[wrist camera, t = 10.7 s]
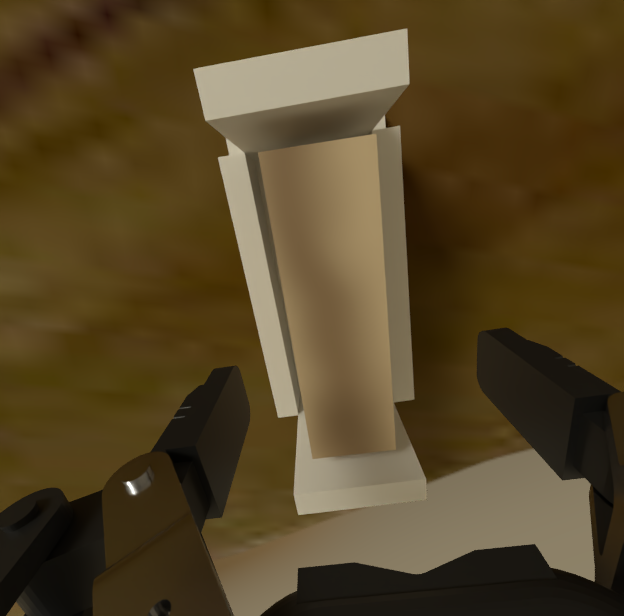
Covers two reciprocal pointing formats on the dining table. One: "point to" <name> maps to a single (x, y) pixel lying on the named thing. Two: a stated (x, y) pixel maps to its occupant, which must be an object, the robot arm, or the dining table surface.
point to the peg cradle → (259, 239)
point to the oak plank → (334, 289)
